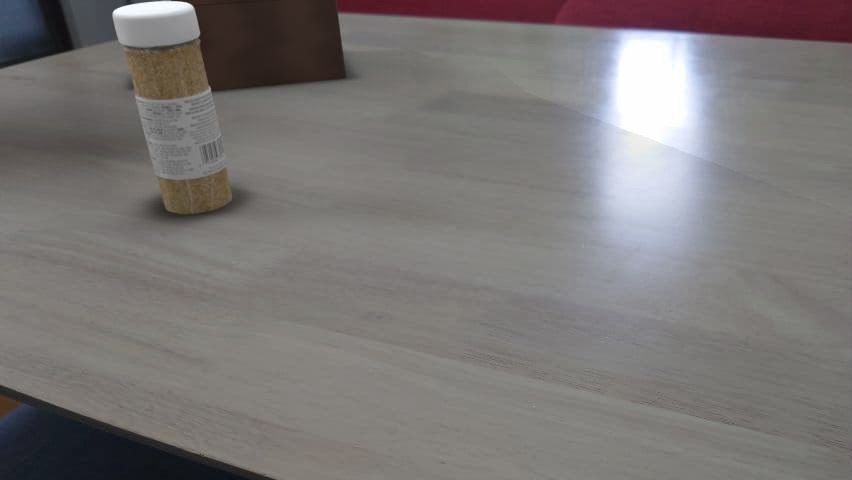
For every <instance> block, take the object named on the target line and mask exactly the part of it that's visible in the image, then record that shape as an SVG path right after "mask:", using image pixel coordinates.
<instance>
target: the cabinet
mask: <svg viewBox="0 0 852 480" xmlns="http://www.w3.org/2000/svg"><path fill="white" fill-rule="evenodd" d="M171 1H179V2H186V3H189V4H191V5H192V6H193V7H194V9H195V13H196V17H197V21H198V26H199V30H200V35H199V37H198V38H199V39H200V51H201V54H202V59H203V62H204V69H205V71H206V76H207V80H208V85H209V86H210V88H211V92H215V91H227V90H235V89H247V88H257V87H259V88H260V87H266V86H267V87H268V86H277V85H278V86H279V85H288V84H299V83H308V82H319V81H330V80H331V81H332V80H342V79H347V73H346V65H345V58H344V57H345V56H344V49H343V43H342V35H341V25H340V17H339V10H338V4H337V0H171Z"/></svg>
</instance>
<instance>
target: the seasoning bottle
mask: <svg viewBox="0 0 852 480" xmlns="http://www.w3.org/2000/svg"><path fill="white" fill-rule="evenodd" d="M112 20H113V26H114V30H115V33H116V37H117V41H118V43H119V44H121V45H122V46H123V48H122V50H123V52H124V53H125V54H124V55H125V58H126V61H127V66H128V70H129V73H130V76H131V81H132V85H133V90H134V99H135V102H136V105H137V110H138V113H139V117H140V121H141V125H142V128H143V133H144V137H145V141H146V145H147V148H148V152H149V156H150V160H151V164H152V167H153V170H154V174H155V175H156V177H157V181H158V187H159V189H160V192H161V197H162V201H163V204H164V208H165V210H166V211H168V212H170V213H174V214H177V215H178V214H179V215H195V214H203V213H207V212H211V211H215V210H217V209H220V208H223V207H226V205H228V204H230V203H231V202H232V200H233V194H232V189H231V186H230V181H229V176H228V175H229V174H228V170H227V159H226V155H225V154H226V153H225V150H224V144H223V140H222V135H221V131H220V125H219V119H218V117H217V111H216V106H215V103H214V98H213V94H212V91H211V88H210V86H209V85H208V80H207V76H206V71H205V69H204V62H203V59H202V54H201V51H200V39H199V38H198V37H199V35H200V30H199V26H198V21H197V17H196V13H195V9H194V7H193V6H192V5H191V4H189V3H186V2H179V1H161V0H160V1H159V0H158V1H157V0H156V1H147V2H138V3H133V4H128V5H123V6H120V7H118V8H115V9H114V10H113V12H112Z"/></svg>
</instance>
